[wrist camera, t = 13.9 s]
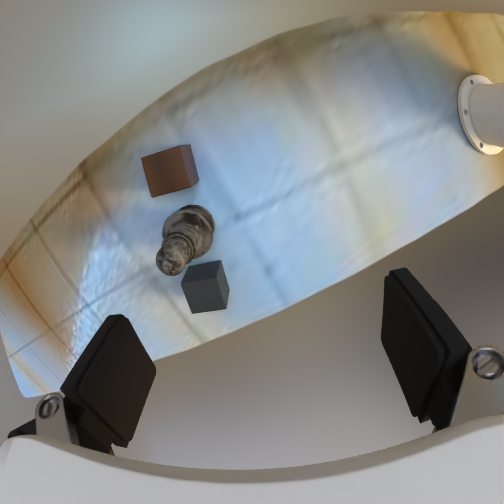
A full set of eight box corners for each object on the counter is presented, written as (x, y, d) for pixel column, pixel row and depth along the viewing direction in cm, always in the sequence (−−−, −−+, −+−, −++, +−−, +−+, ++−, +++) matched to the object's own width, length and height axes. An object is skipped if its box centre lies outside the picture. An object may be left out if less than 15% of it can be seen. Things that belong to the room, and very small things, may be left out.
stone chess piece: (179, 252, 35) (149, 304, 24) (164, 209, 33) (123, 247, 22) (222, 241, 34) (207, 293, 23) (209, 196, 32) (184, 230, 21)
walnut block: (190, 144, 29) (179, 145, 25) (199, 180, 31) (190, 187, 27) (155, 154, 30) (140, 158, 26) (164, 189, 32) (151, 198, 28)
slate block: (221, 260, 35) (216, 277, 31) (229, 289, 37) (226, 309, 33) (188, 266, 36) (180, 283, 32) (198, 294, 37) (192, 313, 33)
